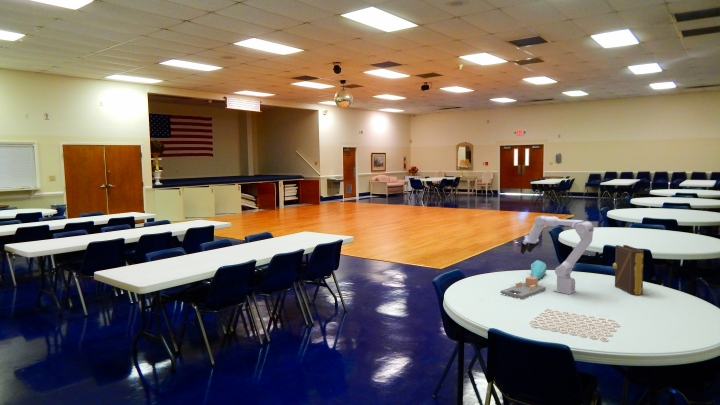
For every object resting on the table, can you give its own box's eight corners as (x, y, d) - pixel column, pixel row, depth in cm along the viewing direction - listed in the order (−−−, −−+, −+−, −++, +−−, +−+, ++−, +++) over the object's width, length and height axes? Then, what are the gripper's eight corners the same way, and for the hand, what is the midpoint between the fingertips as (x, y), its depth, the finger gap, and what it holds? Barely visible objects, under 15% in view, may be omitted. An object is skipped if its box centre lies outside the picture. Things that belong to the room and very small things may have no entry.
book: (646, 295, 260) (647, 251, 258) (630, 295, 260) (631, 251, 258) (624, 284, 282) (625, 244, 280) (610, 285, 282) (611, 244, 280)
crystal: (531, 290, 293) (524, 276, 293) (536, 270, 323) (530, 257, 323) (546, 286, 288) (540, 271, 288) (550, 266, 319) (544, 253, 318)
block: (537, 286, 278) (537, 277, 277) (533, 287, 274) (533, 279, 274) (530, 284, 281) (530, 276, 281) (525, 286, 278) (525, 277, 278)
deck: (545, 290, 275) (545, 283, 274) (522, 299, 259) (522, 291, 259) (524, 286, 286) (524, 278, 285) (500, 294, 270) (500, 286, 270)
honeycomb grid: (546, 310, 241) (546, 308, 241) (622, 323, 219) (622, 321, 219) (525, 326, 219) (525, 324, 218) (608, 343, 196) (608, 341, 196)
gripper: (535, 229, 290) (526, 247, 295) (522, 231, 280) (513, 249, 286) (545, 235, 285) (535, 253, 290) (532, 237, 276) (522, 256, 281)
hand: (525, 252), depth 288 cm, fingers open, 7 cm apart
